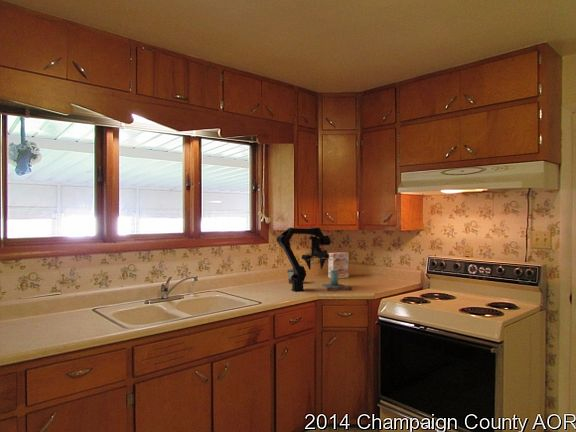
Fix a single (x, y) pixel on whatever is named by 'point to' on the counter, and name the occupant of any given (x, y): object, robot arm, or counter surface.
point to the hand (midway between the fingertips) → (315, 269)
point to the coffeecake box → (339, 264)
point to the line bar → (339, 288)
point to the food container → (290, 273)
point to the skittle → (334, 277)
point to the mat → (333, 286)
